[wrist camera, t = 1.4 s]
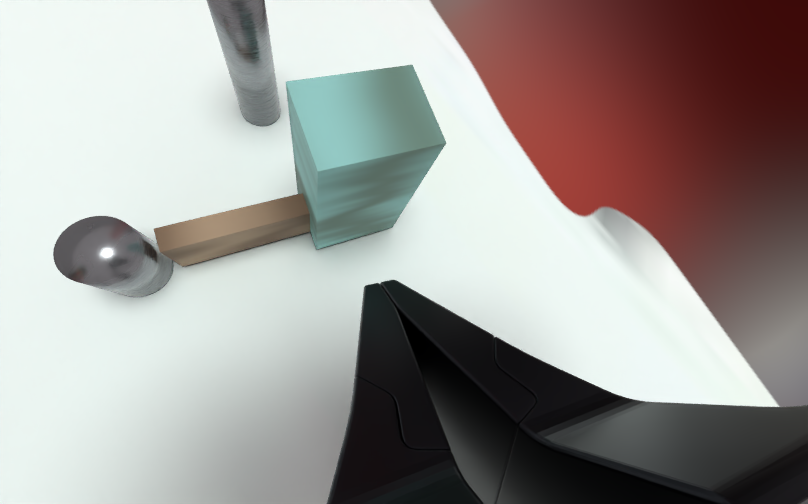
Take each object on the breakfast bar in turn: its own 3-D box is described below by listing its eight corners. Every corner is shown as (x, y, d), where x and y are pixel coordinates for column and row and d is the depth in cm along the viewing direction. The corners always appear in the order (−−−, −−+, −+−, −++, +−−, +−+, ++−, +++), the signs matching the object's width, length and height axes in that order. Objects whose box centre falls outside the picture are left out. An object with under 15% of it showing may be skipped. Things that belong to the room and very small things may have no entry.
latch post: (288, 112, 23) (269, -50, 14) (260, 132, 22) (220, -26, 13) (261, 88, 23) (225, -91, 14) (232, 107, 22) (172, -70, 13)
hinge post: (185, 268, 19) (153, 248, 15) (136, 308, 18) (89, 298, 14) (145, 231, 19) (103, 202, 15) (93, 270, 18) (35, 249, 14)
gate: (188, 287, 18) (64, 228, 9) (172, 226, 19) (40, 114, 10) (392, 227, 22) (446, 142, 13) (373, 178, 23) (412, 64, 14)
